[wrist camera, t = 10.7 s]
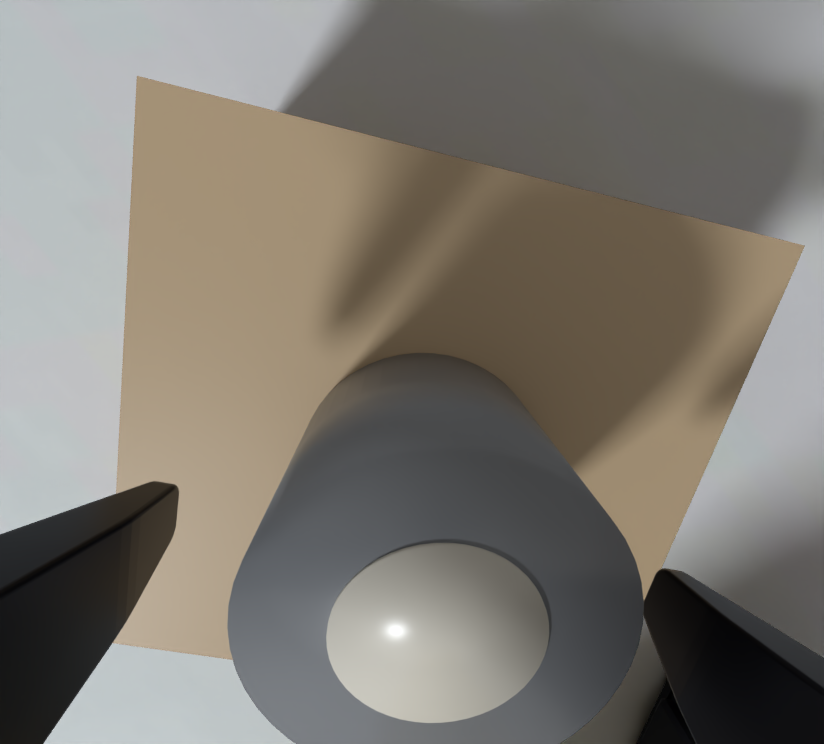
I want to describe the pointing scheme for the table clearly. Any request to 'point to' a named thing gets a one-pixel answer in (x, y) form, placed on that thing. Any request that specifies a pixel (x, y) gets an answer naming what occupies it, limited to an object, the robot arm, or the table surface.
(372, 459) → the grey short round piece
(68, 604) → the robot arm
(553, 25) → the table surface
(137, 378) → the lid
